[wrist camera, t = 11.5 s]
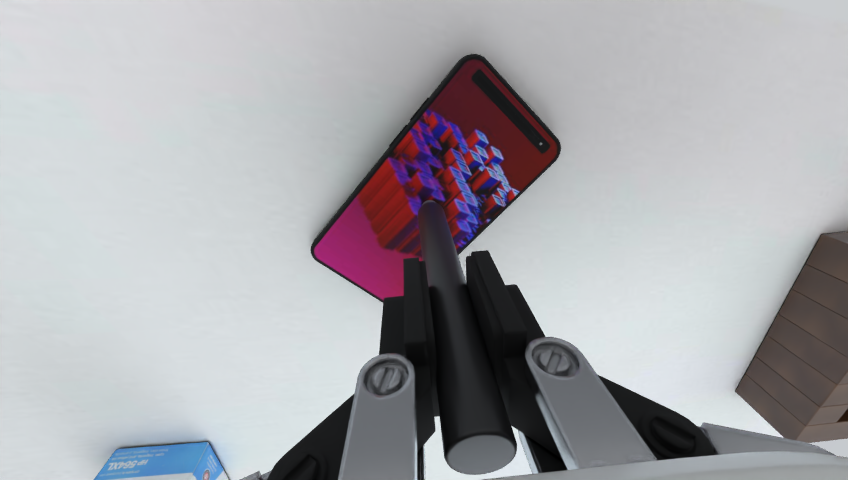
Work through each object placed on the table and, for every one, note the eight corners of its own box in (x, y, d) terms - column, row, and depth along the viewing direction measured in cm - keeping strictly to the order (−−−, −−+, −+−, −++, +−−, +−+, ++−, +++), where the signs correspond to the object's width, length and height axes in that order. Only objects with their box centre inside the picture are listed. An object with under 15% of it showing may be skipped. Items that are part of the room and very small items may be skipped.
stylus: (415, 196, 19) (442, 437, 6) (441, 194, 19) (519, 428, 6) (418, 220, 19) (446, 480, 7) (442, 218, 19) (516, 472, 7)
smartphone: (303, 253, 20) (472, 43, 15) (307, 246, 21) (469, 44, 16) (399, 314, 23) (569, 150, 18) (399, 305, 23) (562, 147, 19)
